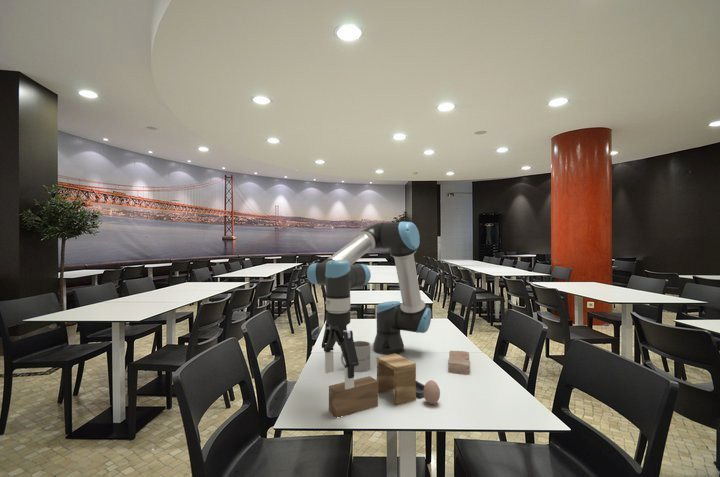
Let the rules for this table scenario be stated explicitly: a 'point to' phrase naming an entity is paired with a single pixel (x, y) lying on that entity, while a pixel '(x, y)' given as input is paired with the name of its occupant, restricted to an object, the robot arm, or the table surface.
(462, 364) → the brick
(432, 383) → the egg
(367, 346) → the mug
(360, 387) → the walnut block
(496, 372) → the table surface
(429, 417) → the table surface
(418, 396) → the tray
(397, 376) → the tunnel
